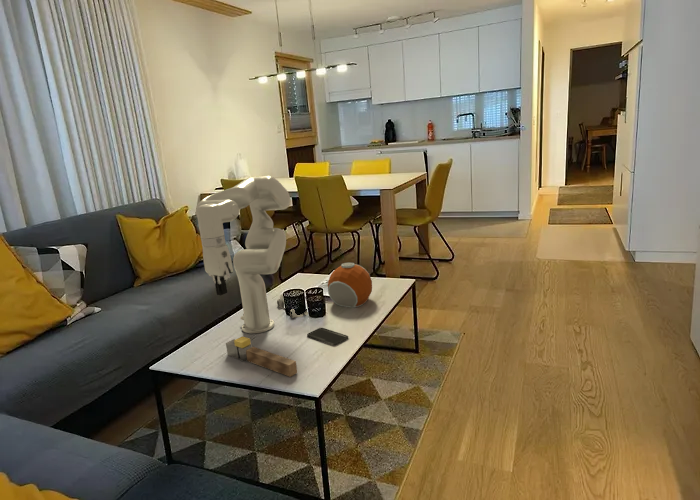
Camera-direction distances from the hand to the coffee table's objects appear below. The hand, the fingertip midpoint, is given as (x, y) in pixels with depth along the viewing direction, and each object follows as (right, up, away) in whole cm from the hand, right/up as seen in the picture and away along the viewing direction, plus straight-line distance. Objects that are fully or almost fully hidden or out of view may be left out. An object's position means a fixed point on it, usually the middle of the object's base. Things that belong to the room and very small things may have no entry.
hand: (222, 293), depth 161 cm
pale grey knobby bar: (+20, -11, +44) cm, 49 cm away
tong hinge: (+6, -22, +2) cm, 23 cm away
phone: (+35, -17, +11) cm, 41 cm away
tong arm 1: (+18, -23, -8) cm, 30 cm away
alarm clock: (+44, -8, +44) cm, 63 cm away
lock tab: (+7, -17, 0) cm, 19 cm away
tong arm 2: (+18, -23, -7) cm, 30 cm away
